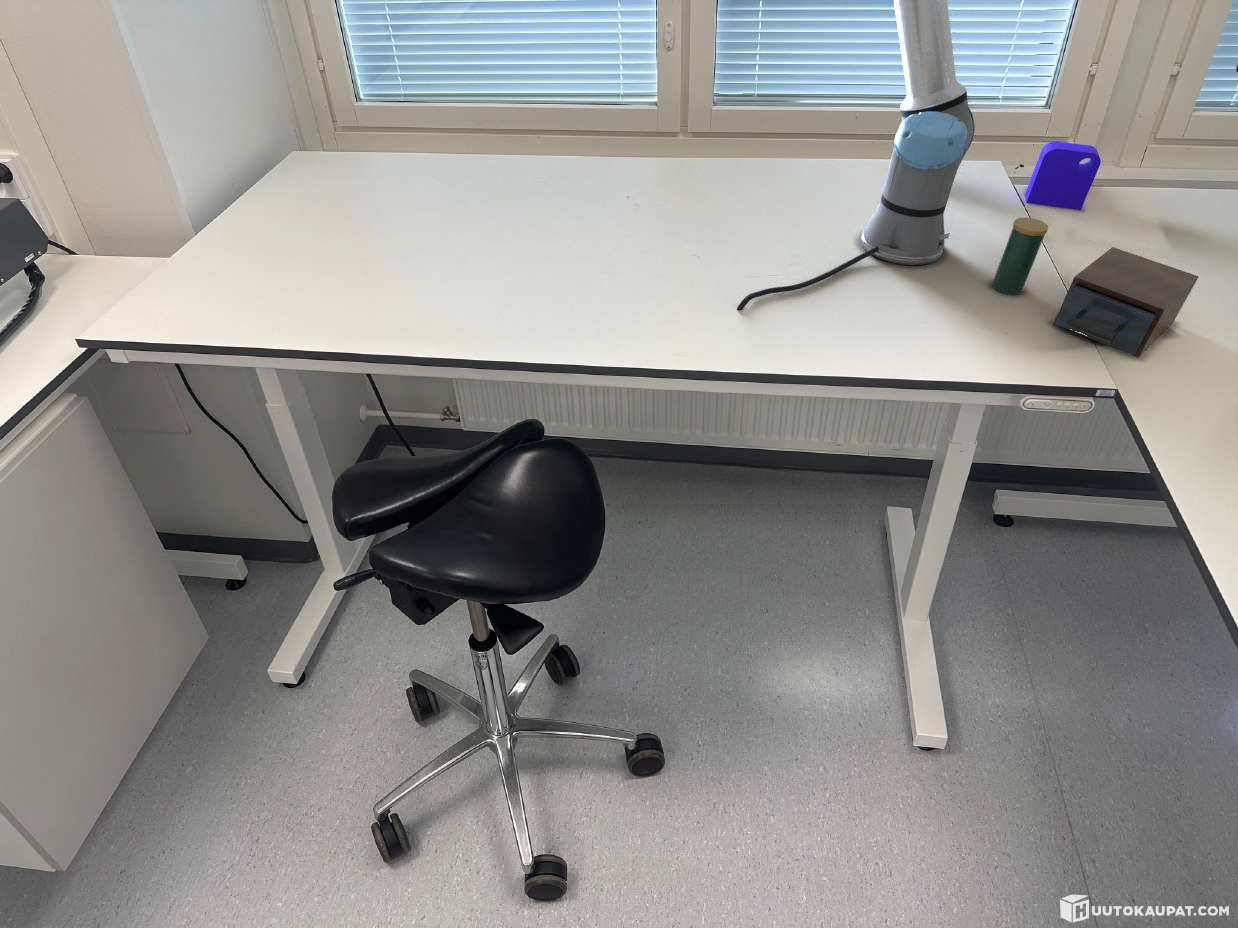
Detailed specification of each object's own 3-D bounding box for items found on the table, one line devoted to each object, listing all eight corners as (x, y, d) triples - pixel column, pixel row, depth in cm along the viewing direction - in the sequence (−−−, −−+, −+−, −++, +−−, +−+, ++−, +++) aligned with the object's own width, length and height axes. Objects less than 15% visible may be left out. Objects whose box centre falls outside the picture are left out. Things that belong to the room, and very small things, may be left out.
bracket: (1080, 210, 169) (1104, 154, 162) (1026, 203, 172) (1047, 147, 164) (1070, 179, 182) (1092, 125, 175) (1020, 172, 185) (1039, 119, 177)
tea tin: (1001, 296, 141) (1026, 232, 133) (984, 281, 145) (1007, 218, 137) (1029, 294, 142) (1055, 230, 134) (1011, 279, 146) (1036, 216, 138)
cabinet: (1138, 358, 127) (1164, 310, 122) (1053, 323, 135) (1074, 276, 129) (1172, 323, 136) (1199, 276, 130) (1091, 292, 143) (1112, 246, 137)
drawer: (1119, 369, 123) (1139, 331, 119) (1039, 336, 130) (1056, 298, 125) (1165, 322, 134) (1186, 286, 129) (1090, 294, 141) (1107, 258, 136)
